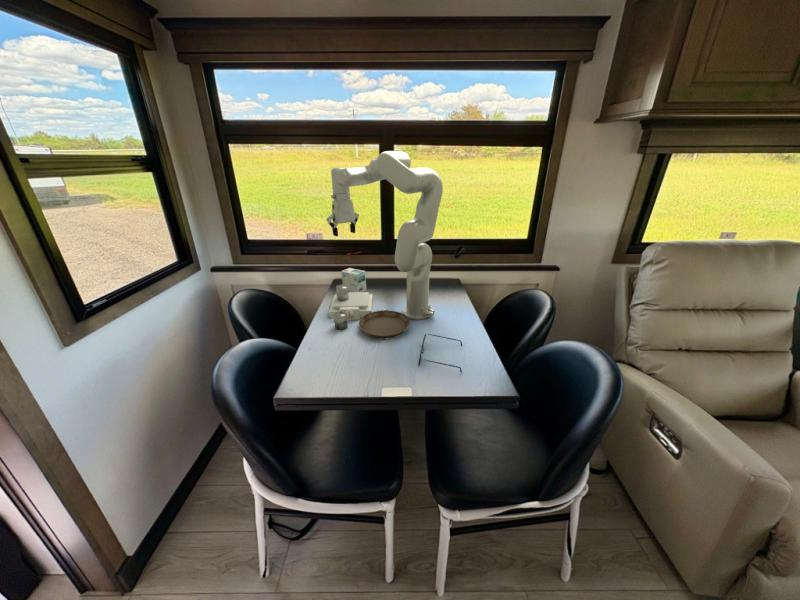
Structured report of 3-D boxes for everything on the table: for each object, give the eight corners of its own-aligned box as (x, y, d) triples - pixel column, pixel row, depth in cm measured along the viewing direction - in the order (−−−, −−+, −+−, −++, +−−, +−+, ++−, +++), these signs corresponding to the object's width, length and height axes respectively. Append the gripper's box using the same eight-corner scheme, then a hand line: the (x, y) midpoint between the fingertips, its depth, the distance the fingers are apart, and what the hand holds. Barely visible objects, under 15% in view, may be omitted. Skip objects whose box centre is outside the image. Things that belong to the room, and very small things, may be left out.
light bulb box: (366, 290, 171) (365, 270, 166) (358, 294, 166) (357, 274, 161) (350, 286, 176) (349, 267, 172) (342, 290, 171) (340, 270, 166)
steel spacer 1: (351, 298, 150) (350, 286, 147) (342, 302, 146) (341, 289, 144) (343, 295, 153) (342, 283, 150) (334, 299, 149) (333, 286, 147)
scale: (372, 299, 160) (372, 290, 158) (371, 319, 141) (370, 309, 139) (335, 300, 160) (334, 290, 157) (328, 320, 141) (327, 310, 139)
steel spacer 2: (350, 327, 136) (349, 314, 133) (340, 332, 132) (339, 318, 130) (342, 323, 139) (341, 310, 136) (332, 327, 135) (330, 314, 133)
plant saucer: (404, 344, 124) (404, 337, 122) (352, 339, 127) (351, 331, 126) (413, 319, 142) (413, 312, 141) (367, 315, 146) (367, 308, 144)
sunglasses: (422, 342, 125) (424, 331, 123) (461, 350, 124) (464, 339, 121) (417, 370, 110) (419, 357, 108) (461, 379, 108) (464, 367, 106)
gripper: (329, 199, 142) (333, 238, 150) (362, 195, 153) (363, 232, 160) (320, 197, 148) (324, 235, 155) (352, 194, 158) (354, 230, 165)
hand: (344, 234), depth 157 cm, fingers open, 9 cm apart
